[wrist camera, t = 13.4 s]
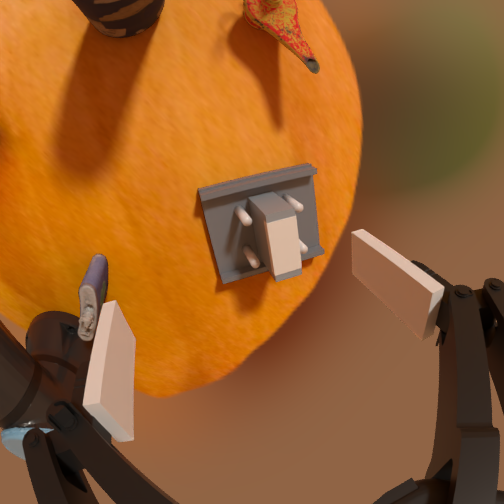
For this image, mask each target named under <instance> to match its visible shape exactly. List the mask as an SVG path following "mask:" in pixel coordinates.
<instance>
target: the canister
mask: <svg viewBox="0 0 504 504" xmlns="http://www.w3.org/2000/svg"><path fill="white" fill-rule="evenodd" d="M72 1H73V2H74V3H75V4H76V5H77V6H78V8H79V9H80V10H81V11H82V12H83V14H84V15H85V16H86V17H87V19H88V20H89V21H90V22H91V23H92V24H93V25H94V27H95V28H96V29H97V30H98V31H99V32H101V33H102V34H104V35H107V36H110V37H116V38H123V37H129V36H133V35H136V34H138V33H141V32H142V31H144V30H146V29H147V28H149V27H150V26H151V25H152V24H153V23H154V22H155V21H156V20H157V19H158V17H159V16H160V14H161V12H162V10H163V7H164V2H165V0H72Z"/></svg>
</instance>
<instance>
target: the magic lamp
mask: <svg viewBox="0 0 504 504" xmlns="http://www.w3.org/2000/svg"><path fill="white" fill-rule="evenodd" d="M243 6H244V17H245V20H246V21H247V22H248V23H249V24H250V25H251V26H252V27H254V28H257V29H261V30H265V31H267V32H268V33H269V34H271V35H272V36H273V37H274V38H276V39H277V40H278V41H279V42H280V43H282V44H283V45H284V46H285V47H286V48H288V49H289V50H290V51H291V52H293V53H294V54H295V55H296V56H297V57H298V58H299V59H300V60H301V61H302V62H303V63H304V64H305V65H306V66H307V67H308V69H309V70H310V71H311V72H312V73H315V74H317V73H318V72H319V70H320V67H319V63H318V61H317V59H316V58H315V56H314V54H313V53H312V51H311V49H310V48H309V46H308V44H307V43H306V41H305V39H304V38H303V35H302V33H301V30H300V26H299V21H298V8H297V4H296V1H295V0H244V2H243Z"/></svg>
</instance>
